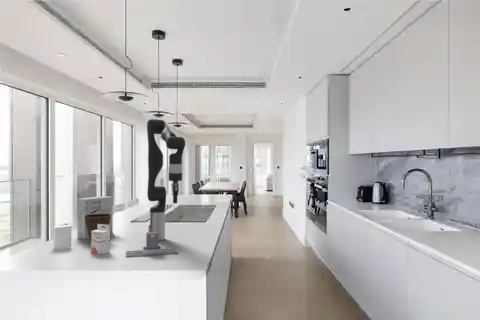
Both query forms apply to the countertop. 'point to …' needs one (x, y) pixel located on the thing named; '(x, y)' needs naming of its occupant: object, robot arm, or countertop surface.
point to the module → (151, 240)
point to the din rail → (151, 252)
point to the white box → (62, 237)
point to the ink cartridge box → (100, 240)
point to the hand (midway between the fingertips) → (175, 203)
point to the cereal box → (93, 212)
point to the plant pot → (96, 221)
